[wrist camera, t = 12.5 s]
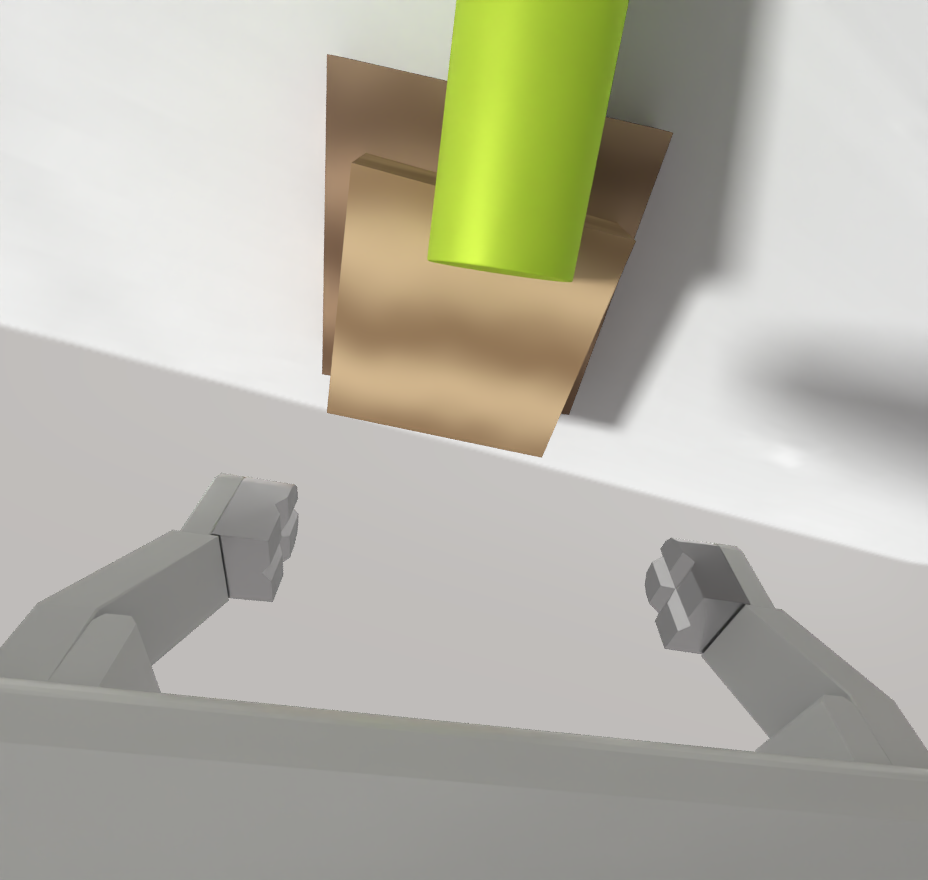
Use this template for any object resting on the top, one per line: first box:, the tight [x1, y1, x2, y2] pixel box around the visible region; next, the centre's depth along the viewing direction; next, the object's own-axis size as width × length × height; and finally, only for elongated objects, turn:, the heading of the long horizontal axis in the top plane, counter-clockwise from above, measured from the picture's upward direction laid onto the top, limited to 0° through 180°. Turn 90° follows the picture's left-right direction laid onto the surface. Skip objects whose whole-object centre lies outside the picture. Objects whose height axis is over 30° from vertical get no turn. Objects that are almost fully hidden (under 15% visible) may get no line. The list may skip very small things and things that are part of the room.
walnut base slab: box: [322, 54, 673, 415], centre depth 28 cm, size 16×16×4 cm
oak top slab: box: [327, 153, 636, 457], centre depth 27 cm, size 13×13×4 cm
